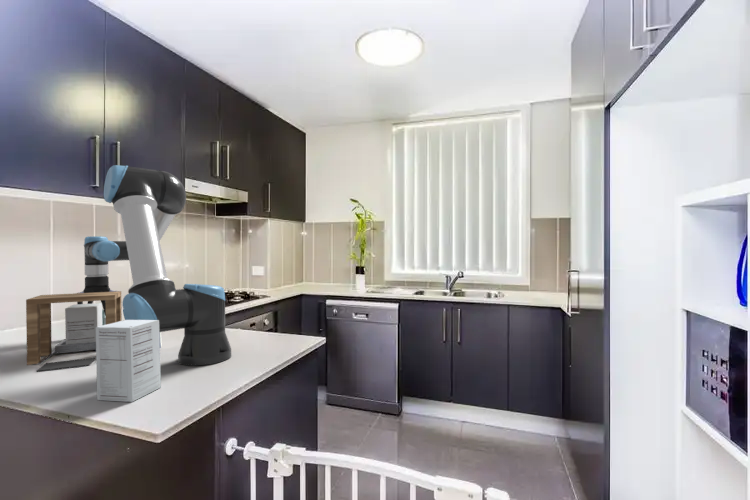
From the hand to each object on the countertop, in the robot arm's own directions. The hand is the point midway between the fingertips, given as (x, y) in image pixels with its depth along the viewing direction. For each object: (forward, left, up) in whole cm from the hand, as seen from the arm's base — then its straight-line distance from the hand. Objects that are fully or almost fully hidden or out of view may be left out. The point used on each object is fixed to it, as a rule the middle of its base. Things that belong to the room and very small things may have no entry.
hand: (97, 335), depth 148 cm
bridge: (-28, 0, -1) cm, 28 cm away
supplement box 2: (-75, -20, -1) cm, 77 cm away
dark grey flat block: (-40, 0, -1) cm, 40 cm away
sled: (-11, 0, 0) cm, 11 cm away
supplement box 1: (-19, 0, -1) cm, 19 cm away
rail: (-21, 0, -1) cm, 21 cm away
